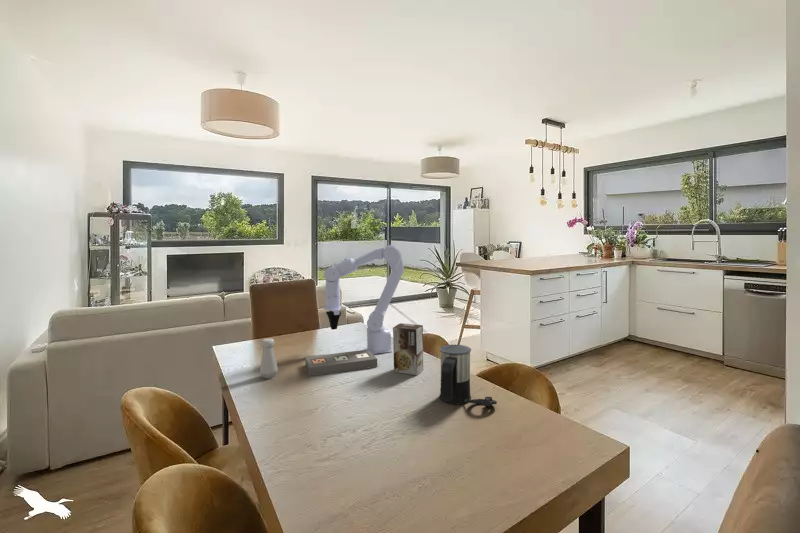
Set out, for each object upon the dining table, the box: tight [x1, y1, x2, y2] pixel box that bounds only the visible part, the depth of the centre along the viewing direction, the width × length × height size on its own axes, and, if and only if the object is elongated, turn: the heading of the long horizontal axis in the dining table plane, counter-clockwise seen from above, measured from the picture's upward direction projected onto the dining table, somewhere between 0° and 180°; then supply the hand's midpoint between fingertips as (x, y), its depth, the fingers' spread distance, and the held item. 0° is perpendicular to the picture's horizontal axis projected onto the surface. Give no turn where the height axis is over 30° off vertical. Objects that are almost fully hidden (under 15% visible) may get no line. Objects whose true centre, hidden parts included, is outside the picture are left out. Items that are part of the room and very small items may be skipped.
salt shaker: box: [259, 337, 279, 380], centre depth 131 cm, size 6×6×13 cm
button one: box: [355, 353, 369, 358], centre depth 144 cm, size 4×4×3 cm
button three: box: [312, 358, 326, 364], centre depth 139 cm, size 4×4×3 cm
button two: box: [334, 356, 348, 361], centre depth 141 cm, size 4×4×3 cm
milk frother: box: [439, 344, 498, 408], centre depth 110 cm, size 14×16×15 cm
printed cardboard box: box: [392, 322, 424, 376], centre depth 135 cm, size 9×6×16 cm
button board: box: [305, 349, 378, 377], centre depth 141 cm, size 24×12×3 cm, turn 110°
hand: (333, 329), depth 158 cm, fingers closed
